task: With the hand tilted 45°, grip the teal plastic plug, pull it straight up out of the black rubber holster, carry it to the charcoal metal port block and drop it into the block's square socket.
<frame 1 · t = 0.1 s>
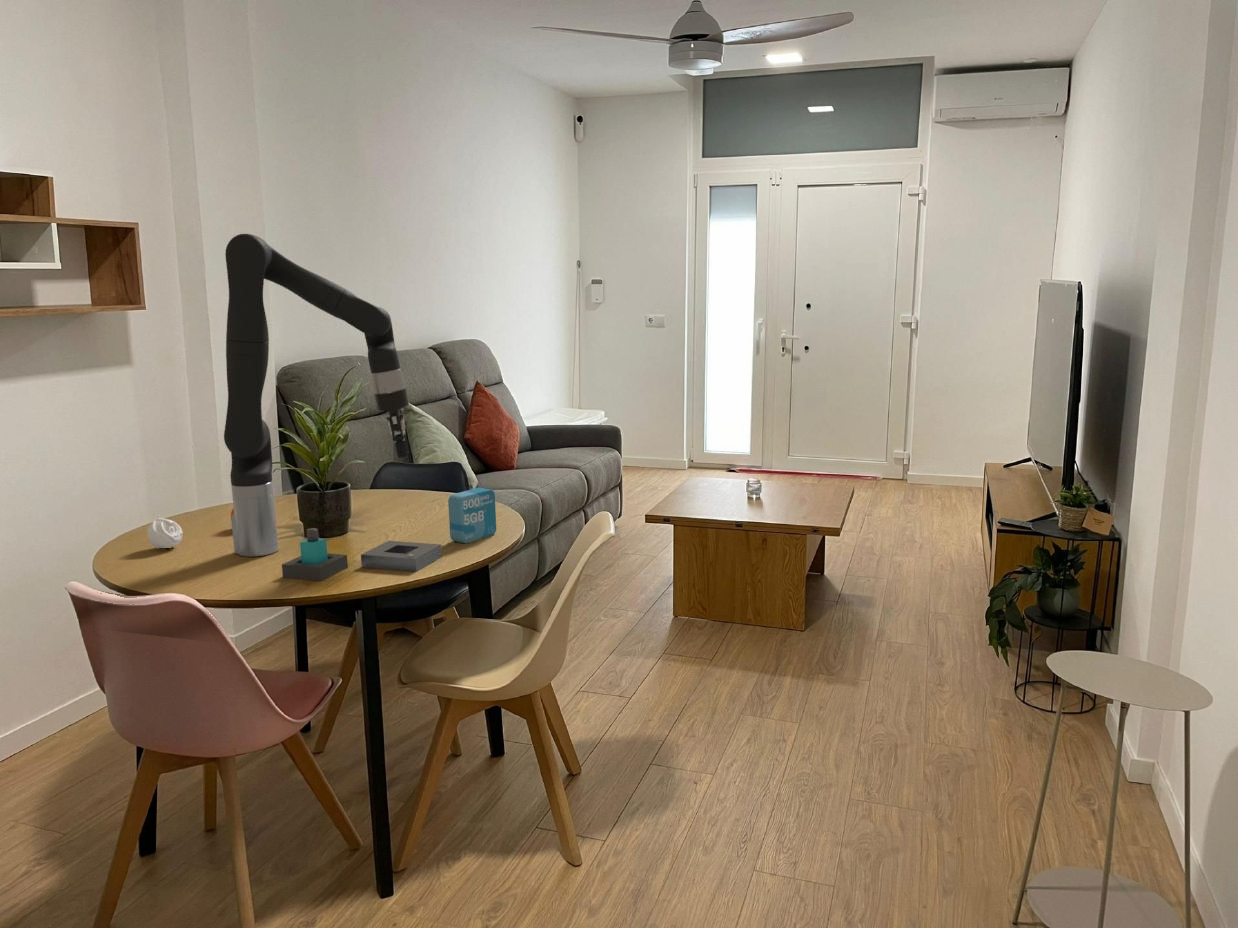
hand: (403, 454, 230), 22 cm above the table, tool pointing down, fingers open, 8 cm apart
data package: (473, 538, 236), on the table
motion sensor: (166, 549, 232), on the table
clementine: (246, 529, 250), on the table
plug: (314, 551, 209), in the holster
holster: (315, 572, 210), on the table
port block: (402, 561, 217), on the table
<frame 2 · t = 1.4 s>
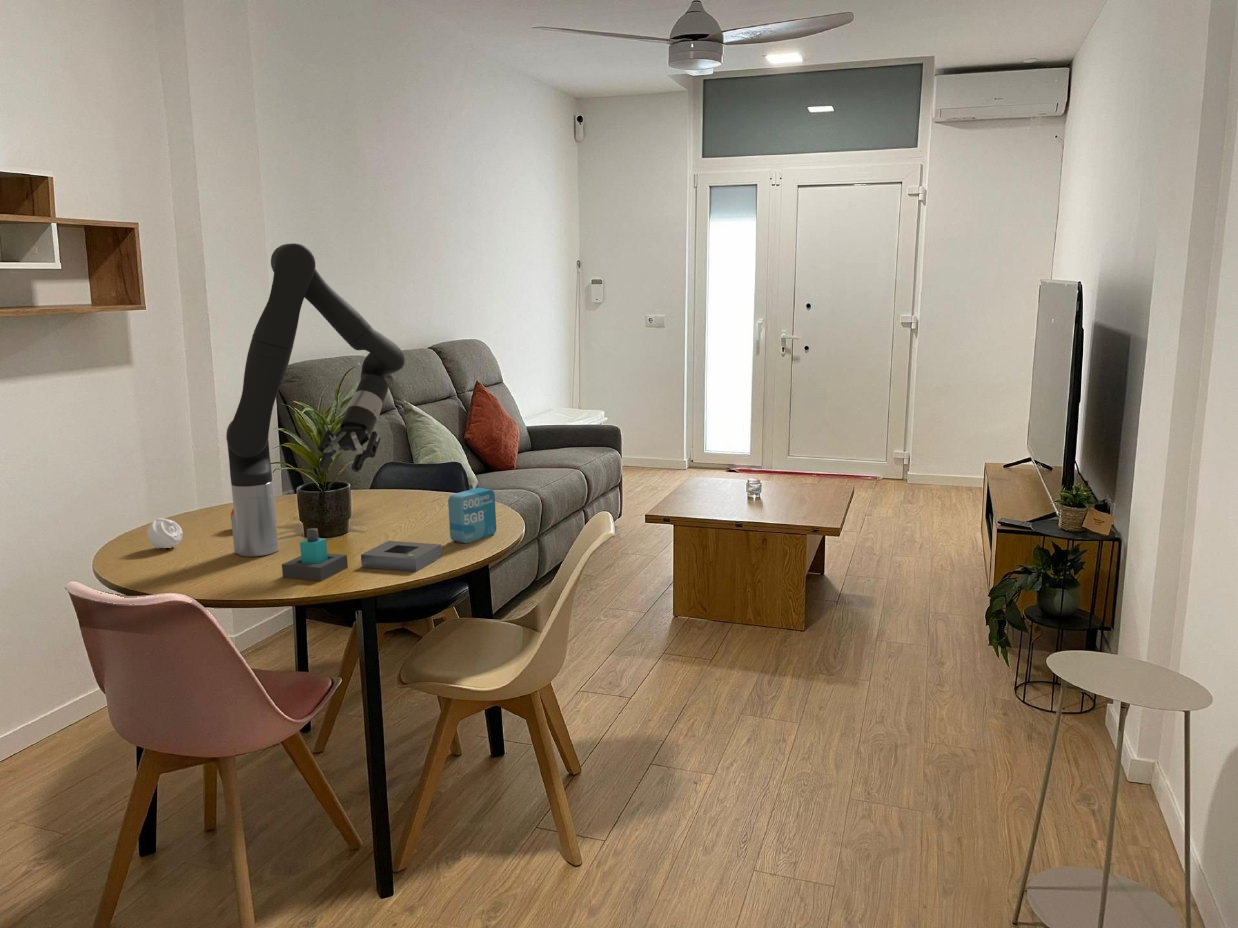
hand: (338, 469, 217), 21 cm above the table, tool tilted 45°, fingers open, 8 cm apart
nothing on the table moved.
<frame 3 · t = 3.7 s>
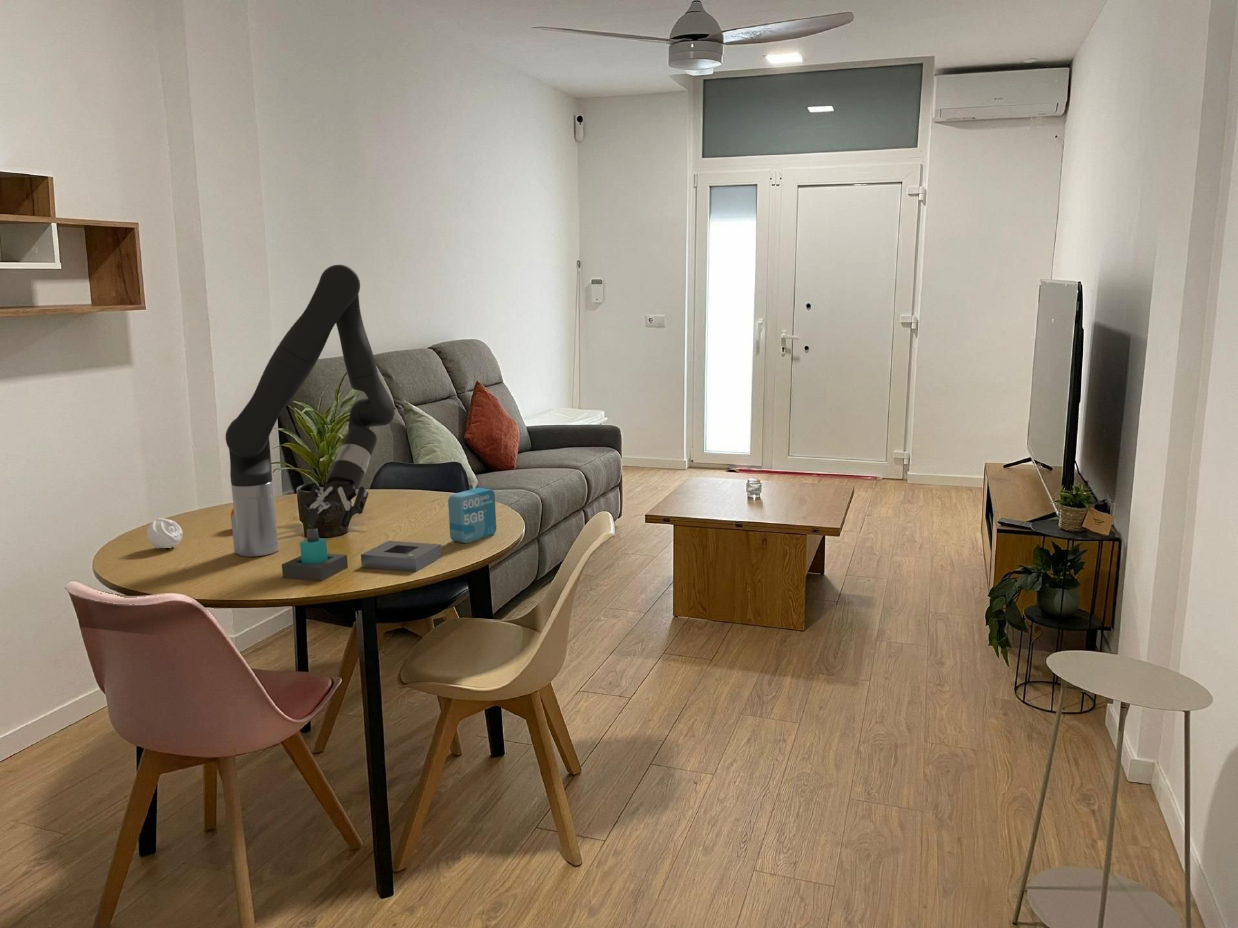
hand: (325, 526, 213), 9 cm above the table, tool tilted 45°, fingers open, 8 cm apart
nothing on the table moved.
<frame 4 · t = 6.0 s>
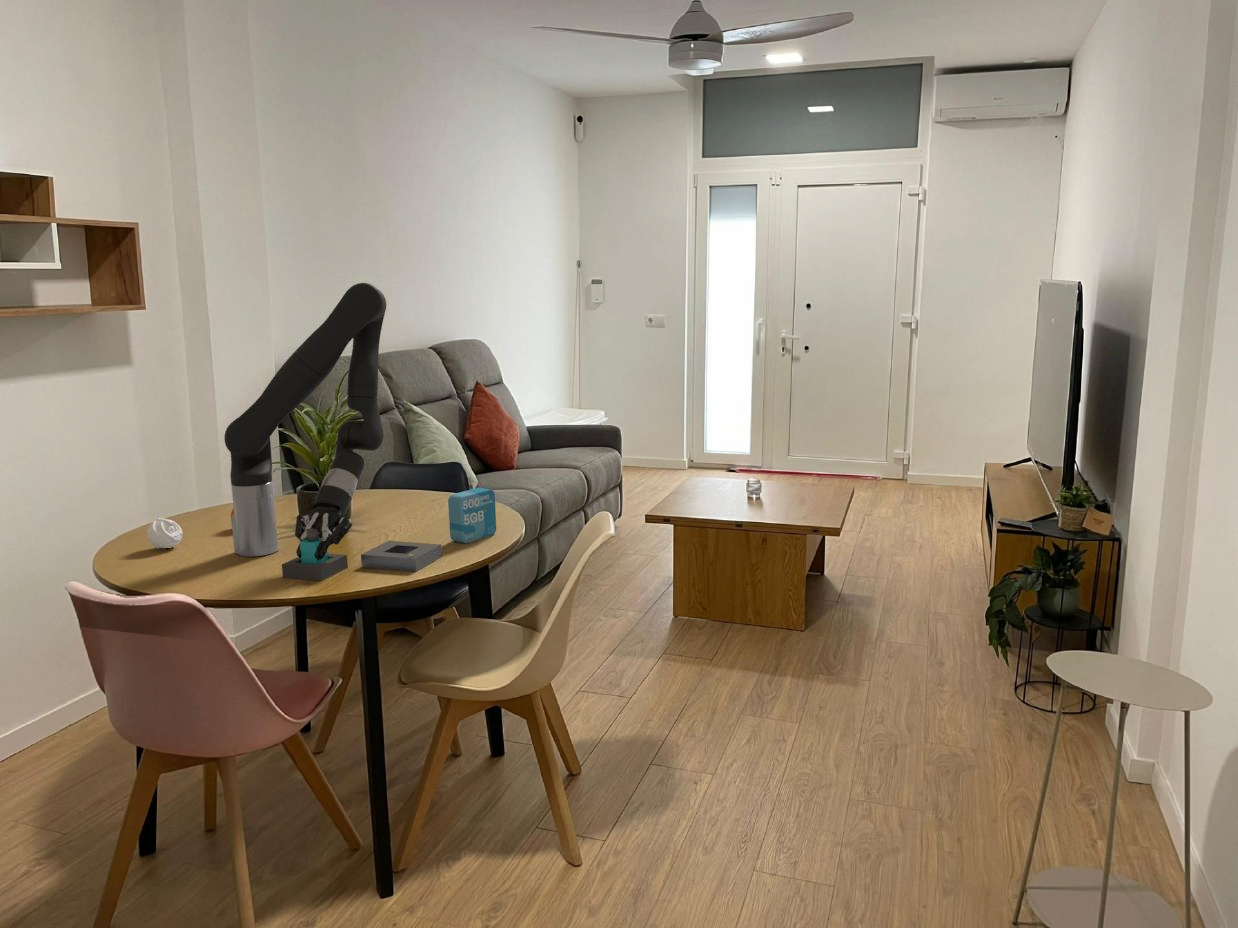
hand: (308, 557, 207), 4 cm above the table, tool tilted 45°, fingers closed on plug, 4 cm apart
plug: (313, 551, 209), in the holster, touching gripper
everything else where it was.
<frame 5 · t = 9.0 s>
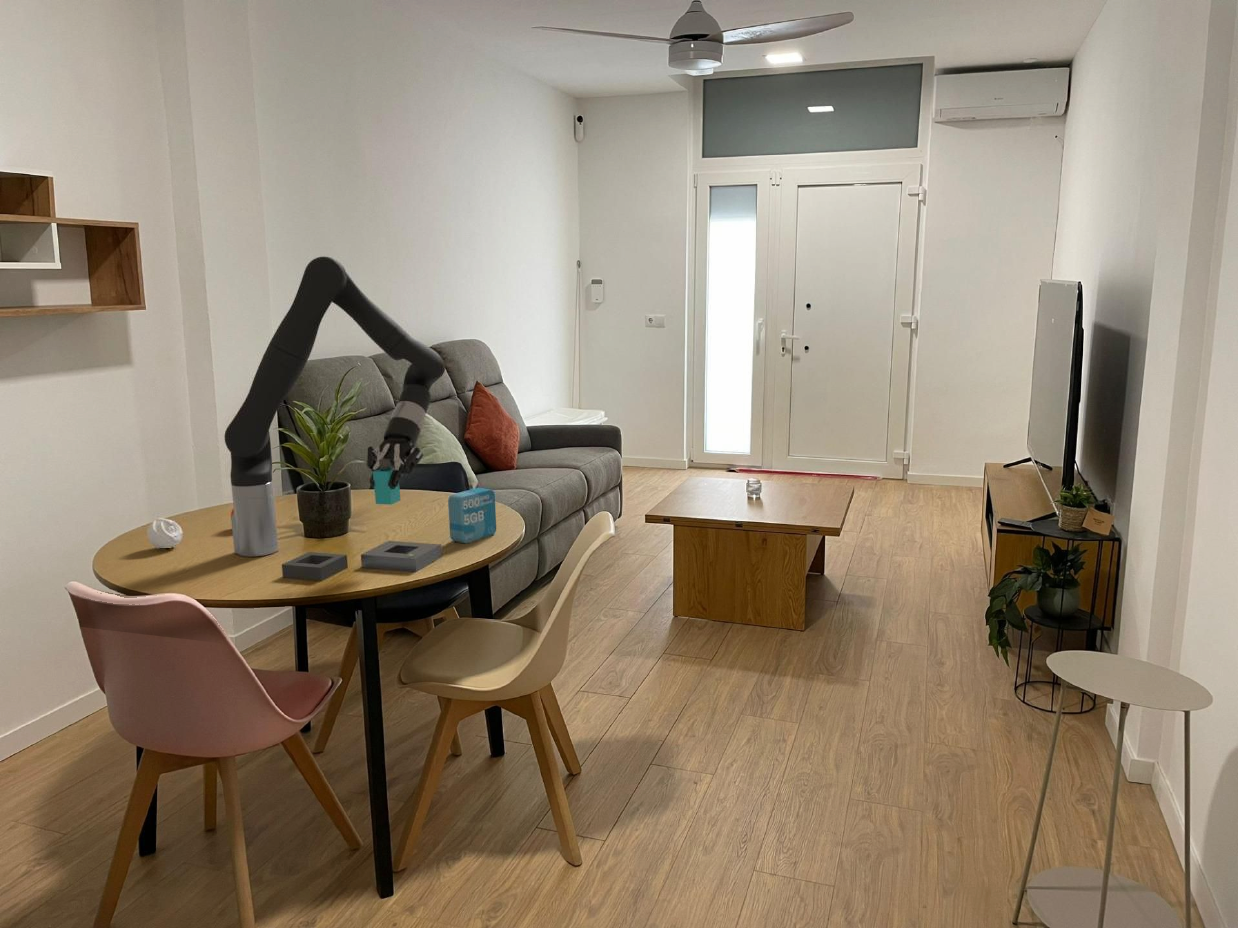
hand: (382, 486, 210), 19 cm above the table, tool tilted 45°, fingers closed on plug, 4 cm apart
plug: (386, 480, 212), point 20 cm above the table, touching gripper
everything else where it was.
when the fingers open (6 cm above the table, at t = 12.0 s): plug drops 1 cm, resting in port block.
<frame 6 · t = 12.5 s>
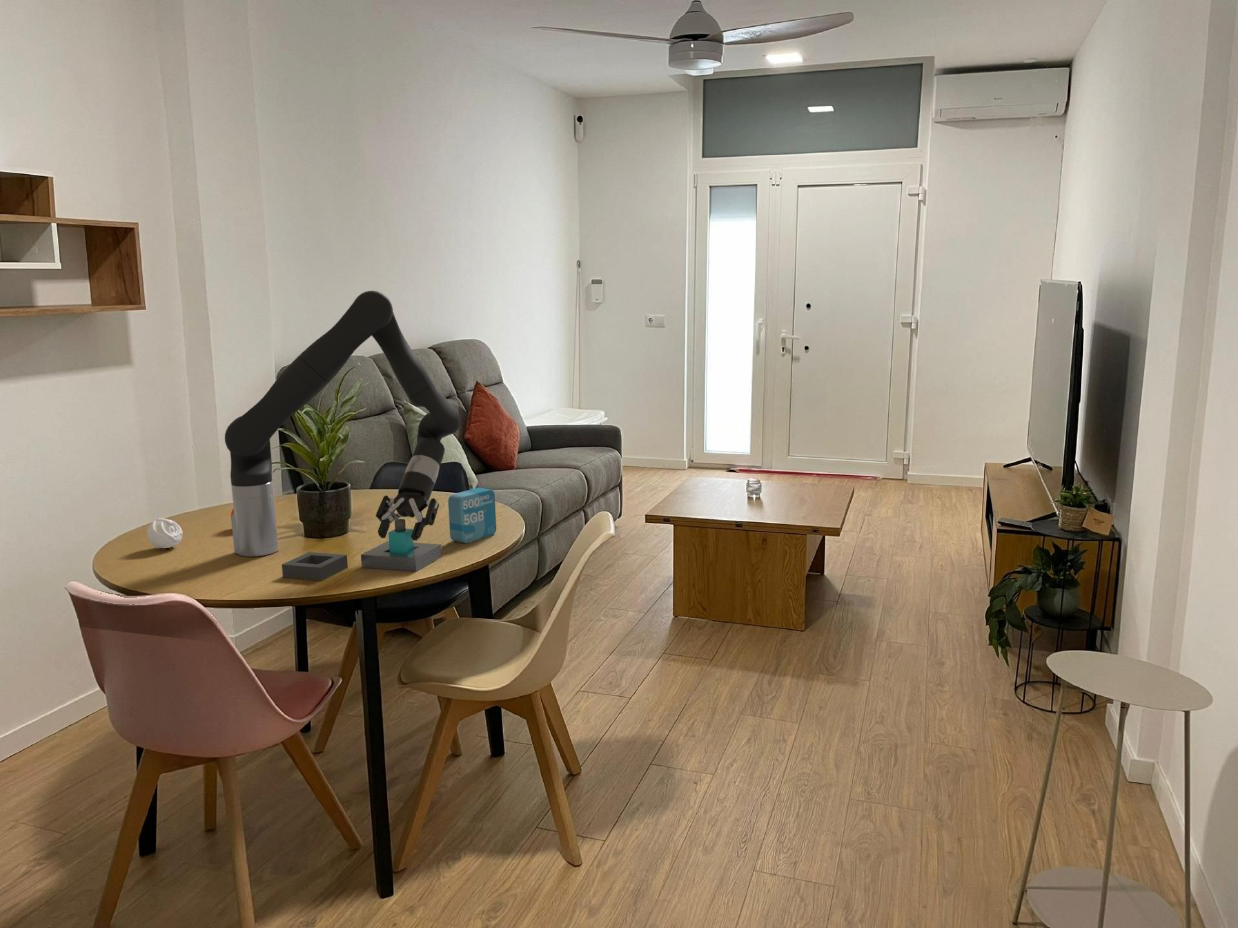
hand: (397, 537, 214), 6 cm above the table, tool tilted 45°, fingers open, 8 cm apart
plug: (401, 541, 216), in the port block
everything else where it was.
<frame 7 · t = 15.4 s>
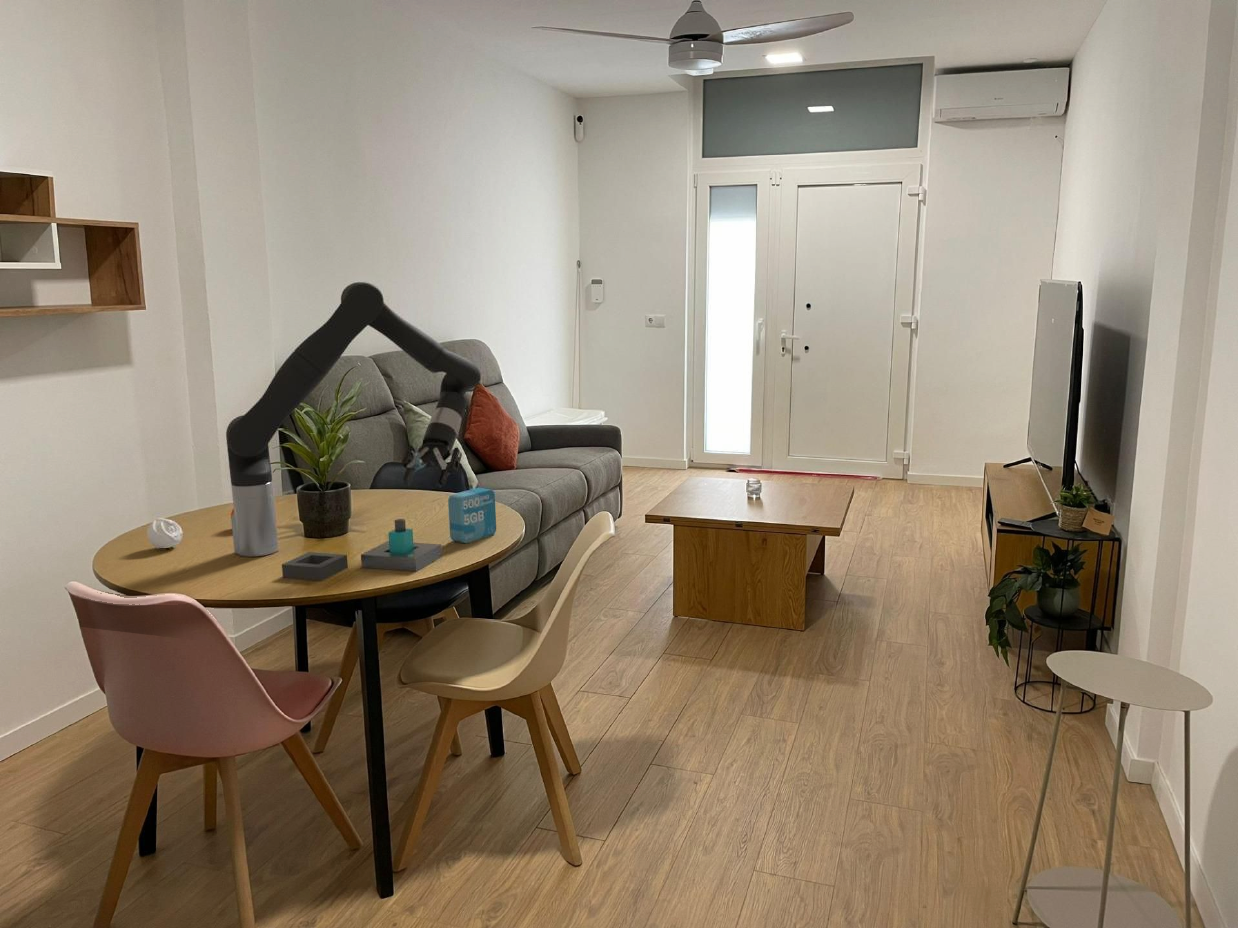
hand: (422, 484, 224), 16 cm above the table, tool tilted 45°, fingers open, 8 cm apart
nothing on the table moved.
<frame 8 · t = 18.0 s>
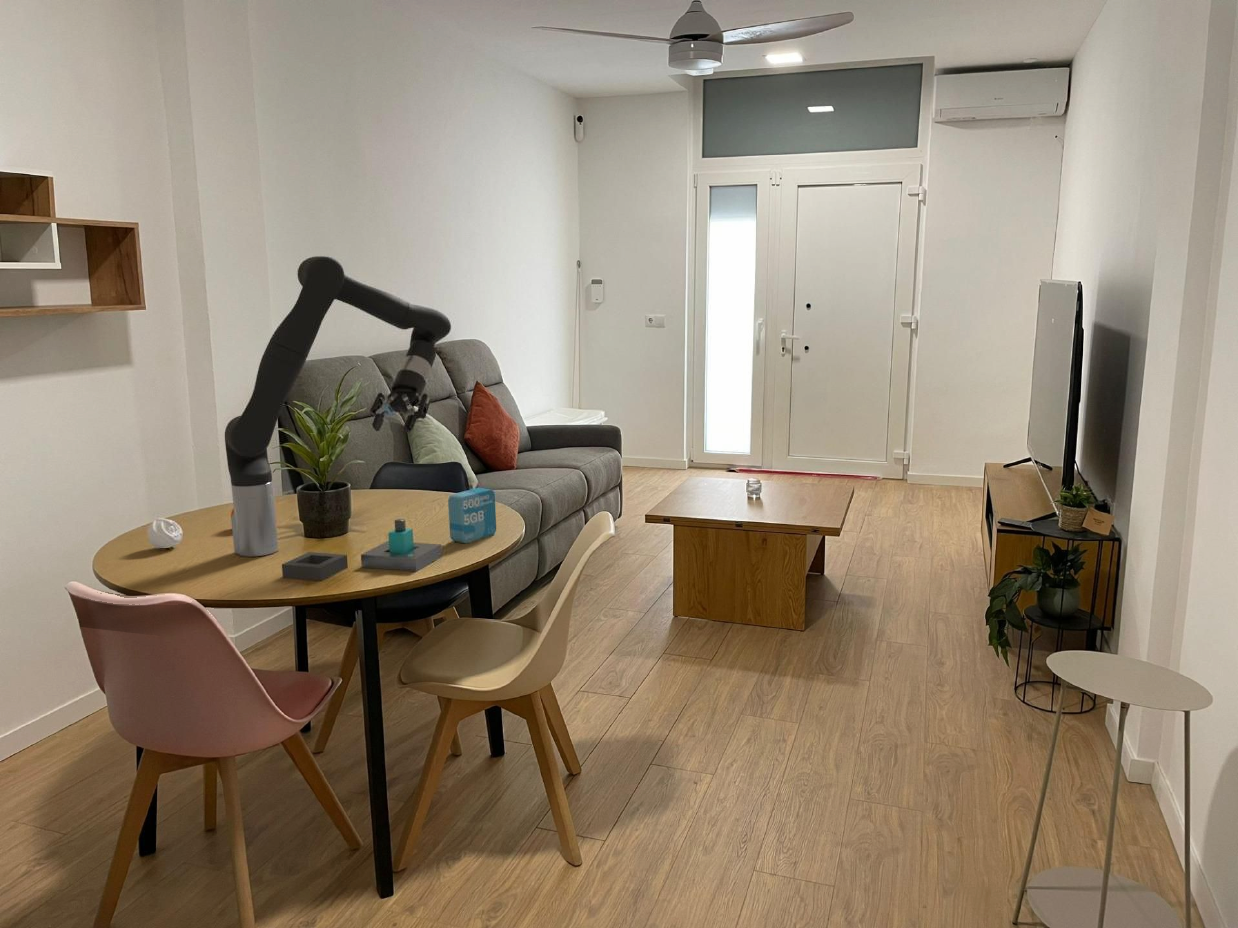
hand: (391, 429, 227), 29 cm above the table, tool tilted 45°, fingers open, 8 cm apart
nothing on the table moved.
at the end: plug 0.0 cm off-centre on the port block, point 5.0 cm above the port block's base; plug tilted 0°; the gripper is holding nothing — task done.
